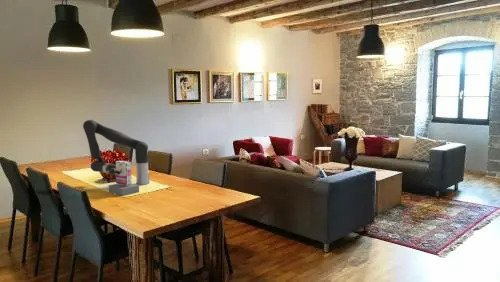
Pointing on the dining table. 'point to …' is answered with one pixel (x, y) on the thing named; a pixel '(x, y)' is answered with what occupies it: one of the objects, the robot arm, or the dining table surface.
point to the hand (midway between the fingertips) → (123, 172)
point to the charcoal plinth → (123, 189)
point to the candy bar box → (123, 172)
